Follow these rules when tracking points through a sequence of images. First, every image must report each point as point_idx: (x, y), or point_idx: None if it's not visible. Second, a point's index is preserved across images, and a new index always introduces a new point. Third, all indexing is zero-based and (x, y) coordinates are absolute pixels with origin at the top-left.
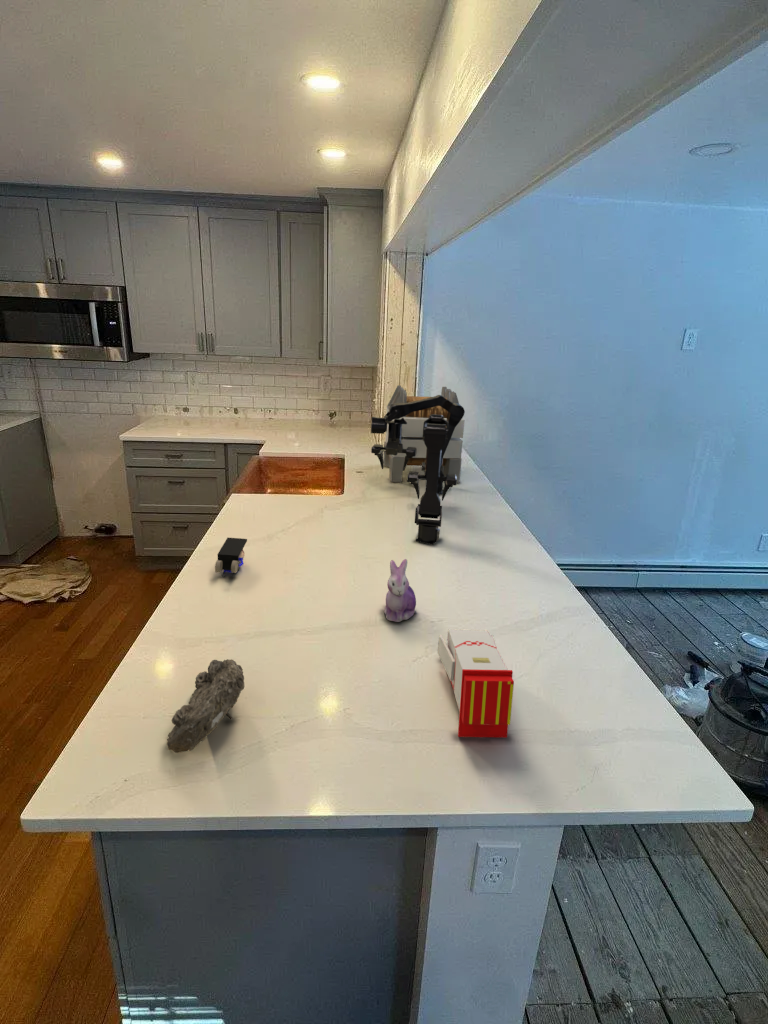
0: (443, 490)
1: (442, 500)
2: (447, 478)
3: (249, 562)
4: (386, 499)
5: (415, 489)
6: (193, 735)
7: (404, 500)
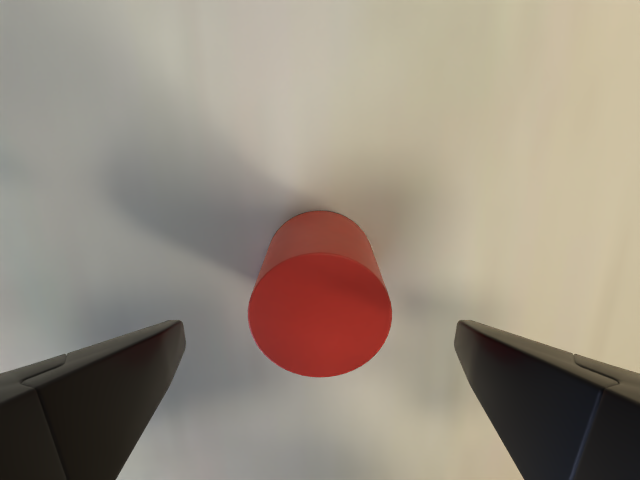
0: (104, 440)
1: (172, 320)
2: None
3: None
4: None
5: (628, 372)
6: None
7: (498, 464)
